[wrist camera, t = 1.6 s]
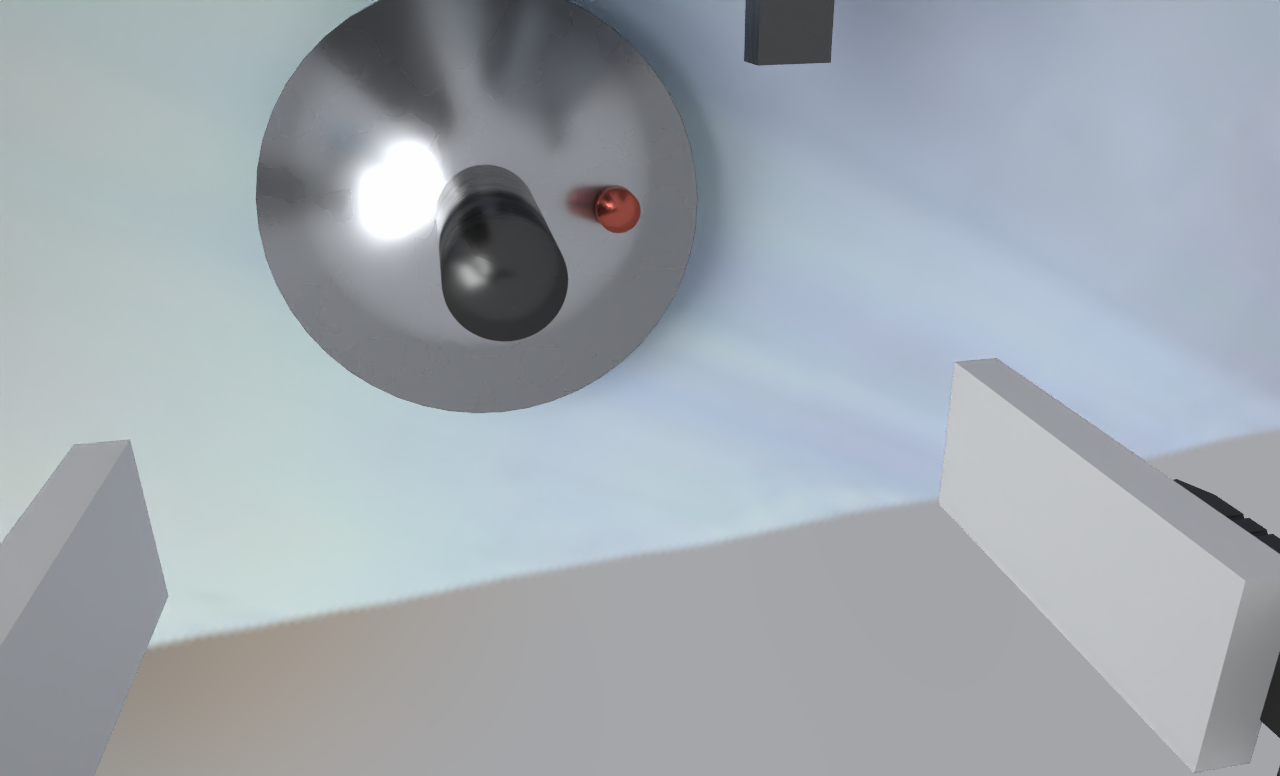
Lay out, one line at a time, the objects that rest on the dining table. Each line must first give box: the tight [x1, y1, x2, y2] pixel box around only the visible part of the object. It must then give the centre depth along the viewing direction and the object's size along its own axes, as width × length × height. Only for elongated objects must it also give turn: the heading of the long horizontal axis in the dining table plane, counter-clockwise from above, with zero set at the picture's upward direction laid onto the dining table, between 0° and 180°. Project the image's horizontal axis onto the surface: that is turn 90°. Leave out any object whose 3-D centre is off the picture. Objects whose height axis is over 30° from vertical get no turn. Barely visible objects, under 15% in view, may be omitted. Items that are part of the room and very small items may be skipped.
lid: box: [256, 0, 697, 413], centre depth 30 cm, size 14×14×10 cm
